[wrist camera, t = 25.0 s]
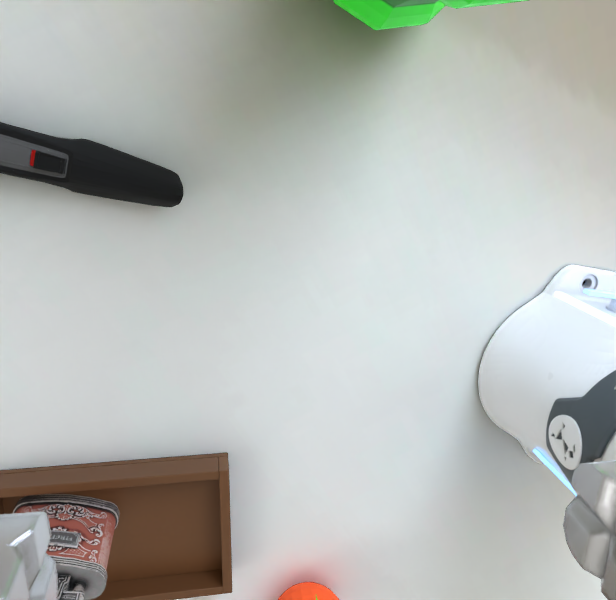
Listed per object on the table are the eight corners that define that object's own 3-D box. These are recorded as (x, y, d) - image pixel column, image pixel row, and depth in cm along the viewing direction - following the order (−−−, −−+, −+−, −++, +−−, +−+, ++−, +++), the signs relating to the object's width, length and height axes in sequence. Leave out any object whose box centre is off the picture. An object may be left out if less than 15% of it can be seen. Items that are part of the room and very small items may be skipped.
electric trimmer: (177, 216, 42) (176, 226, 39) (-62, 157, 38) (-83, 162, 35) (189, 164, 41) (188, 170, 38) (-55, 98, 37) (-77, 99, 34)
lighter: (122, 498, 48) (103, 595, 39) (116, 532, 49) (96, 634, 40) (17, 490, 46) (-30, 590, 37) (13, 525, 47) (-33, 631, 38)
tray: (227, 452, 49) (228, 470, 46) (230, 571, 53) (232, 592, 51) (-12, 471, 46) (-23, 491, 43) (12, 595, 50) (2, 620, 47)
